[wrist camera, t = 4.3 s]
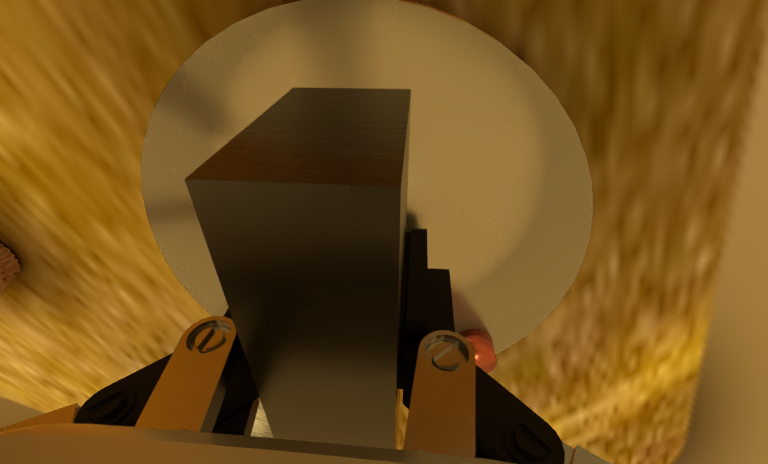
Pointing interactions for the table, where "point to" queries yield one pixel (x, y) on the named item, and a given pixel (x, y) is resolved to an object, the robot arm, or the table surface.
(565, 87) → the table surface
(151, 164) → the lid
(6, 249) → the mushroom
